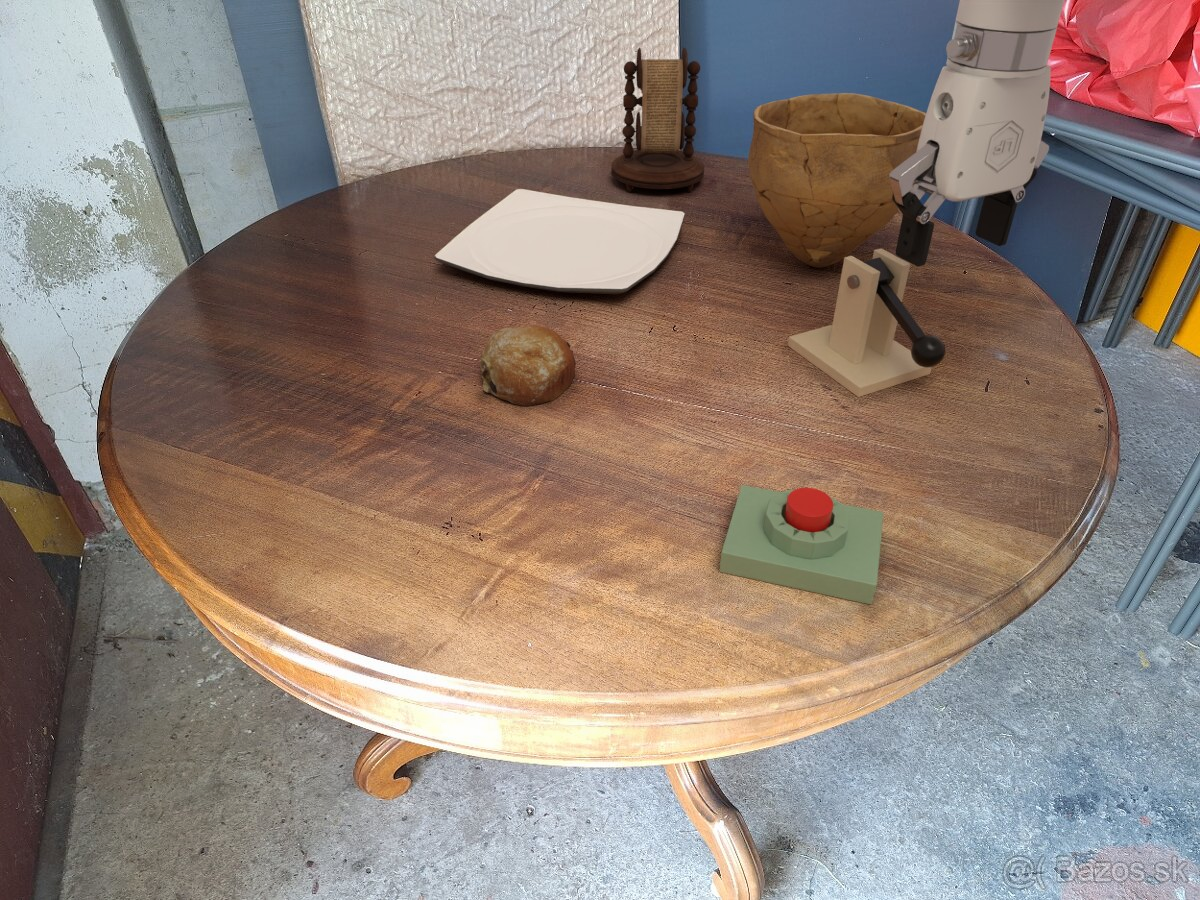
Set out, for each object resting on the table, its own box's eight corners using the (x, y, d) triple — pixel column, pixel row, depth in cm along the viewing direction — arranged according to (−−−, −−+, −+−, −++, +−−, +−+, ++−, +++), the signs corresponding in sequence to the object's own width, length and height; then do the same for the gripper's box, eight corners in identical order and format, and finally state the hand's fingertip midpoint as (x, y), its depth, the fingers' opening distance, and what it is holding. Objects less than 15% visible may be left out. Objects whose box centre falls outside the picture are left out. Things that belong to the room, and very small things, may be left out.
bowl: (725, 288, 113) (740, 127, 101) (750, 227, 128) (766, 81, 116) (895, 311, 108) (932, 144, 96) (900, 245, 124) (932, 95, 112)
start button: (832, 508, 73) (835, 492, 72) (827, 537, 70) (831, 520, 69) (787, 500, 74) (790, 483, 73) (781, 527, 71) (784, 511, 70)
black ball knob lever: (940, 369, 90) (957, 350, 88) (916, 377, 89) (933, 358, 86) (871, 273, 95) (885, 253, 93) (848, 279, 94) (861, 259, 91)
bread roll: (479, 400, 98) (447, 354, 92) (542, 337, 101) (515, 288, 95) (536, 439, 93) (506, 392, 86) (602, 371, 95) (577, 321, 89)
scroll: (613, 199, 137) (615, 60, 125) (609, 166, 149) (610, 36, 137) (709, 198, 138) (720, 60, 126) (697, 165, 149) (706, 36, 137)
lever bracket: (930, 374, 96) (956, 273, 89) (858, 397, 93) (879, 294, 86) (856, 326, 105) (875, 230, 98) (787, 345, 101) (801, 248, 94)
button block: (878, 531, 76) (888, 494, 74) (871, 605, 69) (881, 567, 67) (739, 503, 79) (743, 467, 77) (718, 572, 72) (723, 535, 70)
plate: (632, 316, 107) (632, 296, 105) (420, 278, 115) (418, 259, 113) (695, 227, 128) (697, 210, 127) (514, 201, 136) (513, 184, 135)
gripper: (953, 70, 65) (906, 285, 75) (1114, 46, 72) (1051, 247, 82) (883, 50, 71) (848, 253, 81) (1038, 29, 77) (988, 220, 87)
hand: (950, 250), depth 81 cm, fingers open, 9 cm apart
